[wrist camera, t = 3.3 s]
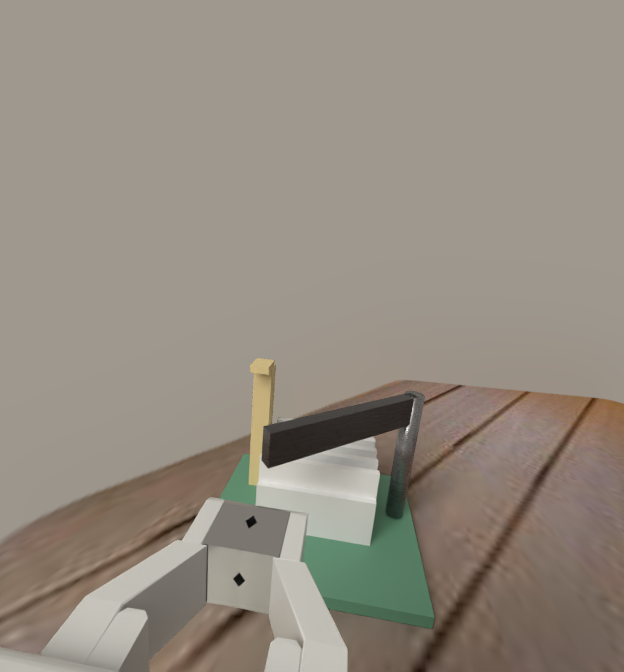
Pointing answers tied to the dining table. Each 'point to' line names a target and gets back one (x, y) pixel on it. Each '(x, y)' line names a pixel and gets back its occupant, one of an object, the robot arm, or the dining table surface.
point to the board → (363, 565)
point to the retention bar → (352, 437)
